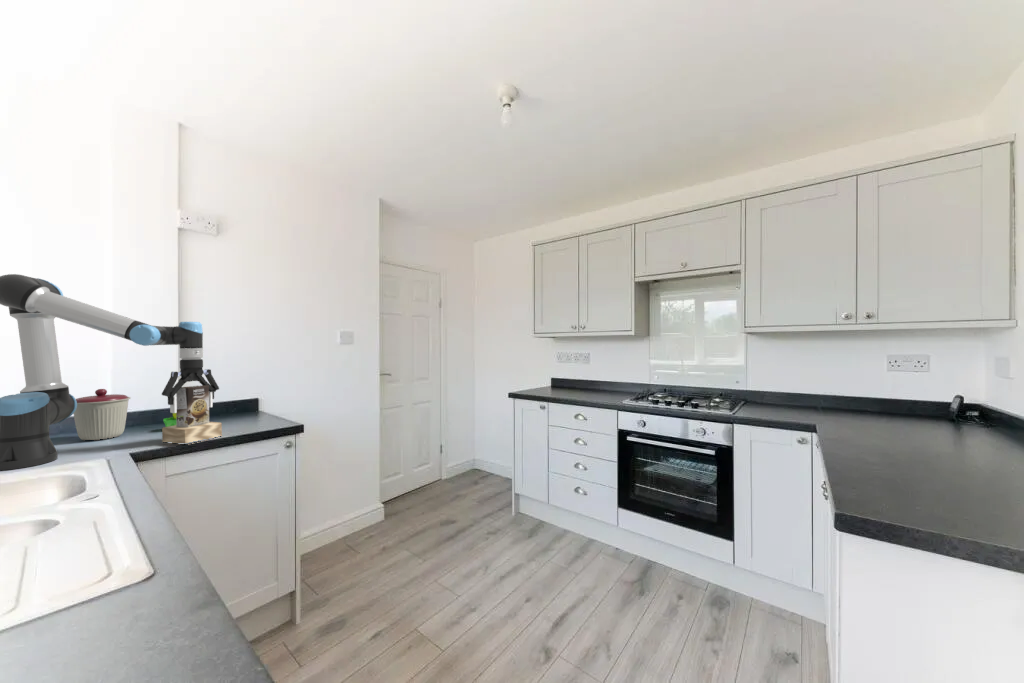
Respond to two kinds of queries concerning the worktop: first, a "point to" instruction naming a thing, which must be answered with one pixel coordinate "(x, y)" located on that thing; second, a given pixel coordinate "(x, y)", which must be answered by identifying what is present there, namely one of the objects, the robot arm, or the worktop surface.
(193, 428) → the oak block
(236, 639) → the worktop surface
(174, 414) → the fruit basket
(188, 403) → the coffee box
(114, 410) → the canister
